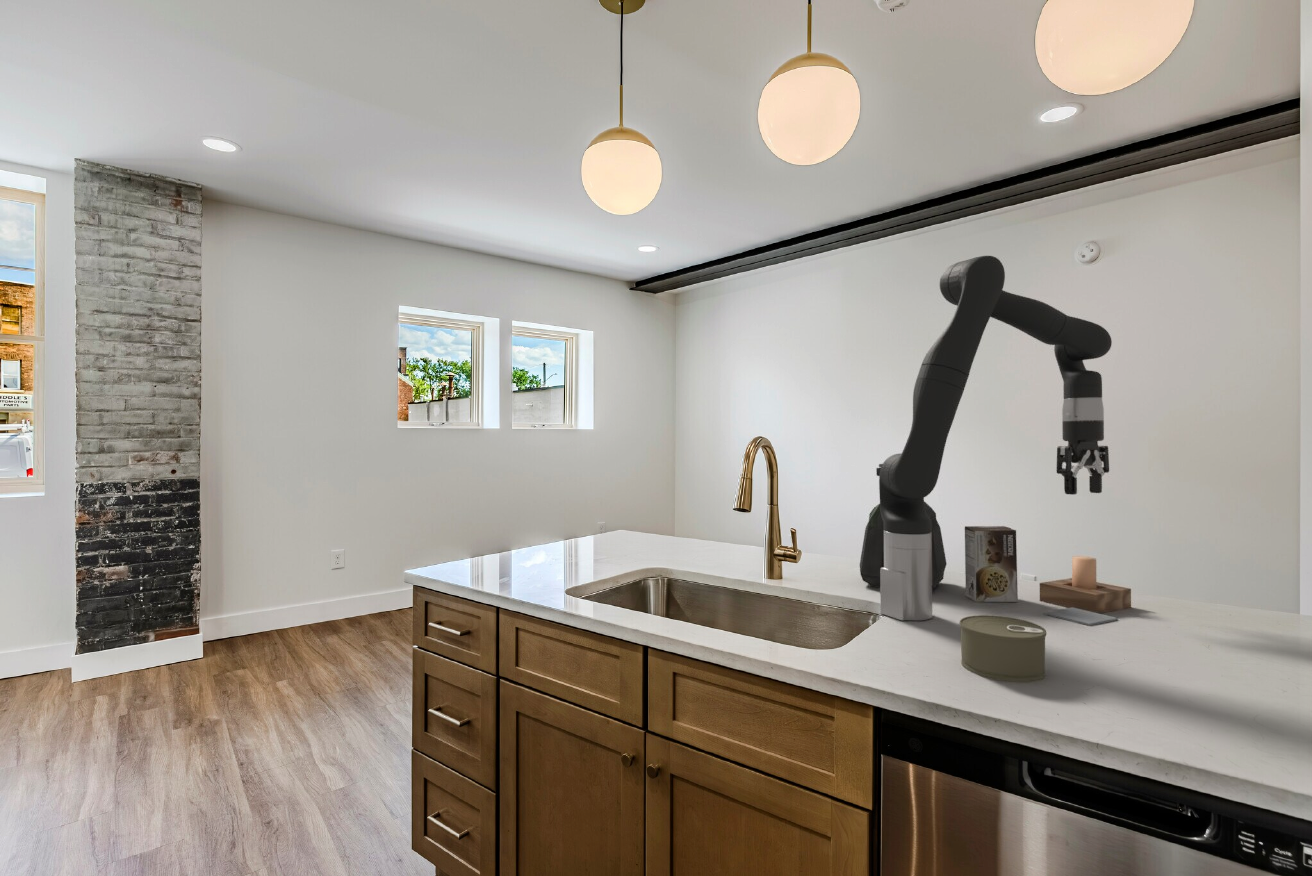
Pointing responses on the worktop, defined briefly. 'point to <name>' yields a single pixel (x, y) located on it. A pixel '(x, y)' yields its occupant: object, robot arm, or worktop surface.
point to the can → (1003, 648)
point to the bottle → (875, 548)
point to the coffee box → (991, 564)
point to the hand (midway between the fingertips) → (1083, 493)
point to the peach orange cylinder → (1084, 573)
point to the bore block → (1086, 596)
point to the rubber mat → (1080, 616)
